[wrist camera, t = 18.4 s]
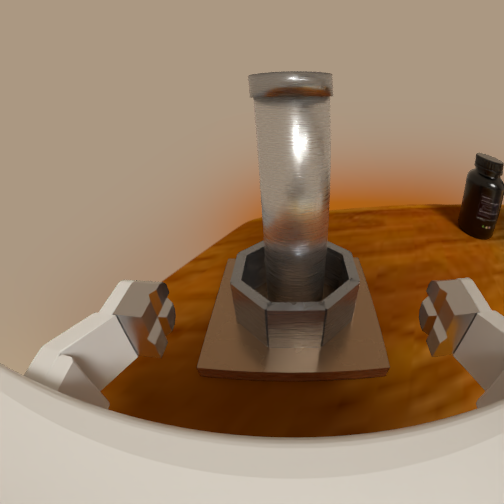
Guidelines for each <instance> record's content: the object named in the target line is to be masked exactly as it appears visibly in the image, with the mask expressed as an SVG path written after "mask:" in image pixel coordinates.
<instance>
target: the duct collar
mask: <svg viewBox="0 0 504 504" xmlns="http://www.w3.org/2000/svg"><path fill="white" fill-rule="evenodd" d="M389 368H390V366H389V361H388V357H387V353H386V349H385V345H384V341H383V337H382V334H381V330H380V326H379V323H378V319H377V315H376V312H375V309H374V305H373V302H372V299H371V295H370V292H369V289H368V286H367V282H366V279H365V276H364V273H363V270H362V267H361V264H360V261H359V258H353V257H352V253H350V251H348V250H346V249H343V248H341V247H339V246H337V245H335V244H333V243H331V242H329V241H327V252H326V264H325V276H324V287H323V296H322V301H321V302H270V301H269V300H268V295H267V278H266V262H265V247H264V240H263V241H261V242H259V243H257V244H255V245H253V246H251V247H249V248H247V249H245V250H243V251H241V252H239V254H237V258H236V259H228V262H227V265H226V268H225V272H224V275H223V278H222V282H221V285H220V288H219V292H218V295H217V299H216V302H215V305H214V309H213V312H212V316H211V319H210V322H209V326H208V329H207V333H206V336H205V340H204V343H203V347H202V350H201V354H200V357H199V361H198V364H197V370H198V372H199V375H200V376H204V377H214V378H226V379H241V380H262V381H325V380H345V379H359V378H371V377H381V376H386V374H387V372H388V370H389Z"/></svg>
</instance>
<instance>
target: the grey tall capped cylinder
mask: <svg viewBox="0 0 504 504" xmlns="http://www.w3.org/2000/svg"><path fill="white" fill-rule="evenodd" d="M248 78H249V79H248V80H249V91H250V97H253V98H254V110H255V123H256V134H257V148H258V160H259V175H260V188H261V202H262V217H263V232H264V247H265V262H266V278H267V295H268V300H269V301H270V302H321V301H322V296H323V287H324V276H325V264H326V252H327V238H328V221H329V198H330V157H331V141H330V140H331V132H330V96H333V85H332V74H330V73H322V72H298V71H297V72H271V73H260V74H253V75H249V76H248Z"/></svg>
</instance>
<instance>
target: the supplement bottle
mask: <svg viewBox="0 0 504 504" xmlns="http://www.w3.org/2000/svg"><path fill="white" fill-rule="evenodd" d="M475 166H476V168H475V169H472V170H470V171H469V173H468V175H467V179H466V185H465V191H464V196H463V201H462V205H461V210H460V214H459V219H458V224H459V226H460V228H461V229H462V230H463V231H464V232H466V233H467V234H469V235H470V236H472V237H475V238H478V239H489V238H491V237H492V235H493V232H494V229H495V226H496V223H497V219H498V215H499V212H500V208H501V204H502V200H503V195H504V183H503V181H502V180H501V178H500V176H501V175H502V174H503V171H502V170H503V162H502V161H500V160H498V159H496V158H494V157H492V156H489V155H486V154H482V153H477V154H476V161H475Z"/></svg>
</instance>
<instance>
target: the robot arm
mask: <svg viewBox="0 0 504 504" xmlns="http://www.w3.org/2000/svg"><path fill="white" fill-rule="evenodd" d="M168 294H169V291H168V288H167V285H166V284H165V283H163V282H152V281H137V280H136V281H134V280H122V281H120V282H119V283H118V285H117V286H116V288H115V289H114V291H113V292H112V293H111V295H110V296H109V298H108V299H107V301H106V302H105V304H104V305H103V307H102V308H101V310H100V311H99V313H93V314H92V315H90V316H89V317H87V318H85V319H84V320H83V321H81V322H79V323H78V324H76V325H74V326H73V327H71V328H70V329H68V330H67V331H65V332H63V333H62V334H60V335H59V336H57V337H56V338H54V339H53V340H51V341H49V342H48V343H46V344H45V345H43V346H42V347H41V349H40V350H39V352H38V353H37V355H36V356H35V358H34V360H33V361H32V363H31V365H30V366H29V368H28V370H27V371H26V373H25V375H24V376H23V375H21V374H19V373H18V372H16V371H14V370H12V369H10V368H8V367H6V366H5V365H3V364H1V363H0V504H504V316H502V315H501V314H499V313H498V312H496V311H492V310H491V309H490V307H489V305H488V304H487V302H486V300H485V299H484V297H483V296H482V294H481V293H480V291H479V289H478V288H477V286H476V285H475V283H474V282H473V280H471V279H470V278H460V279H451V280H435V281H431V282H430V284H429V285H428V288H427V294H428V297H427V298H426V299H425V300H424V301H423V302H422V304H421V307H420V311H419V321H420V325H421V328H422V331H424V332H425V333H426V334H427V335H428V337H427V340H426V342H427V344H428V347H429V350H430V353H431V355H432V357H437V356H444V355H451V354H453V356H454V357H455V358H456V359H457V360H458V361H459V362H460V363H461V365H462V366H463V367H464V368H465V369H466V370H467V371H468V372H469V373H470V374H471V375H472V376H473V378H474V379H475V380H476V381H477V382H478V383H479V384H480V385H481V387H482V388H483V389H484V390H485V393H484V394H483V395H482V396H481V397H480V398H479V399H478V400H477V402H476V405H477V408H478V409H475V410H472V411H469V412H465V413H462V414H459V415H455V416H452V417H448V418H445V419H441V420H437V421H433V422H429V423H424V424H420V425H415V426H410V427H405V428H399V429H393V430H387V431H380V432H373V433H365V434H355V435H344V436H330V437H260V436H245V435H233V434H224V433H215V432H208V431H201V430H194V429H188V428H182V427H177V426H172V425H167V424H162V423H157V422H153V421H149V420H144V419H140V418H136V417H133V416H129V415H125V414H122V413H118V412H115V411H112V410H108V407H109V405H110V404H109V401H108V400H107V399H106V398H105V397H104V396H103V394H102V393H101V392H100V391H101V390H102V389H103V388H104V387H106V386H107V385H108V384H109V383H110V382H111V381H112V380H113V379H114V378H115V377H116V376H118V375H119V374H120V373H121V372H122V371H123V370H124V369H125V368H126V367H127V366H129V365H130V364H131V363H132V362H133V361H134V360H135V359H136V358H137V357H138V356H146V357H154V358H162V355H163V353H164V350H165V348H166V345H167V343H168V342H167V339H166V337H165V336H167V335H168V334H169V333H171V332H172V330H173V327H174V325H175V308H174V305H173V303H172V302H171V301H170V300H169V299H168V298H167V296H168ZM137 355H138V356H137Z"/></svg>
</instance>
